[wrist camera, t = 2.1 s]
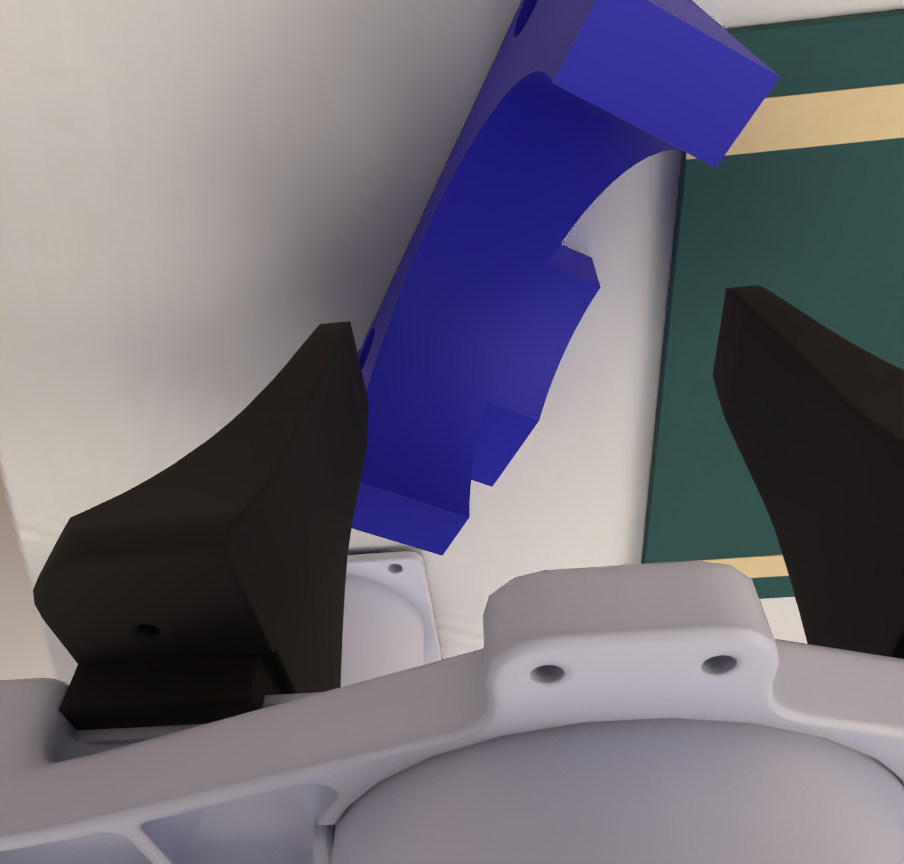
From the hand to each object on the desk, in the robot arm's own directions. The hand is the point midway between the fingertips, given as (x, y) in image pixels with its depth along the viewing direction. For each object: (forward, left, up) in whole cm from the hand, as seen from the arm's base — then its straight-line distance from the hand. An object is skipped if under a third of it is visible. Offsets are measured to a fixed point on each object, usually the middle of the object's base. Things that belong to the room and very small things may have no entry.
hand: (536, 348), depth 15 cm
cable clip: (0, 0, -6) cm, 6 cm away
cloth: (+9, -6, -6) cm, 12 cm away
